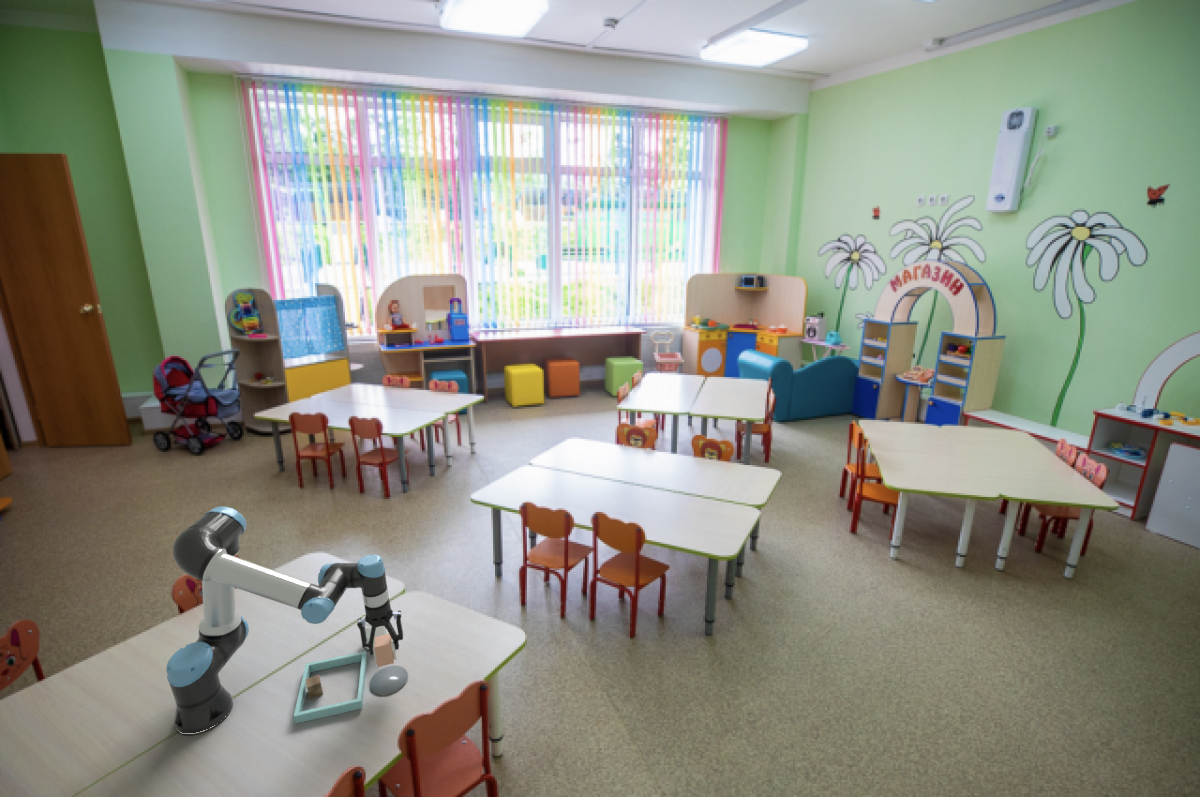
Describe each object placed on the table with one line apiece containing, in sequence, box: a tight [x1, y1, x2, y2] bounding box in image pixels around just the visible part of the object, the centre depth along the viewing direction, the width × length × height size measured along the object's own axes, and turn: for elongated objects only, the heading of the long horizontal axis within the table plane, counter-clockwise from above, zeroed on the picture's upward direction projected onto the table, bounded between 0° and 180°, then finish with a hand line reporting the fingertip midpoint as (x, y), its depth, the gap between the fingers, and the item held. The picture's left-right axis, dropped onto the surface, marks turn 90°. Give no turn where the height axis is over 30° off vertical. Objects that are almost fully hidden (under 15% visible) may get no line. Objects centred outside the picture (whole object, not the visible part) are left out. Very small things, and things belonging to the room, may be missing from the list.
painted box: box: [374, 633, 395, 668], centre depth 189 cm, size 5×5×8 cm
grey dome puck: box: [369, 665, 409, 696], centre depth 193 cm, size 12×12×1 cm
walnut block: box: [306, 674, 324, 700], centre depth 188 cm, size 4×4×5 cm
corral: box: [293, 650, 368, 724], centre depth 190 cm, size 19×22×3 cm
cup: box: [361, 615, 388, 651], centre depth 210 cm, size 8×12×10 cm
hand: (386, 658), depth 190 cm, fingers closed on painted box, 5 cm apart
